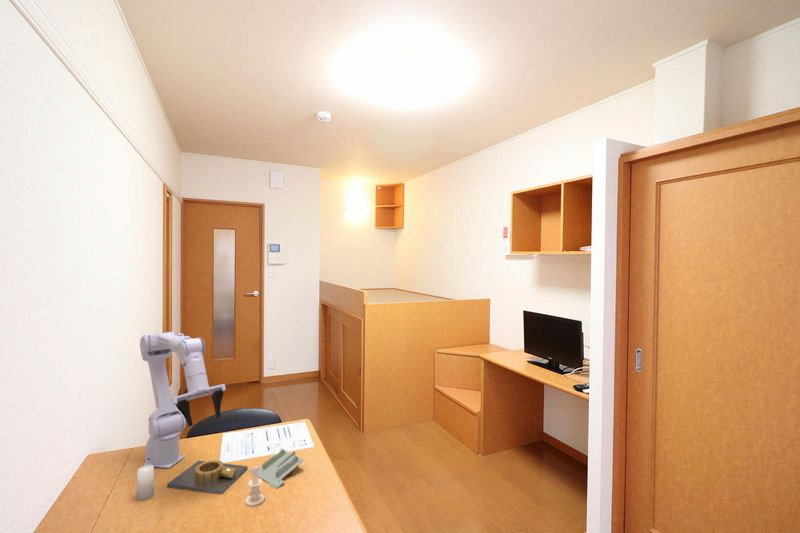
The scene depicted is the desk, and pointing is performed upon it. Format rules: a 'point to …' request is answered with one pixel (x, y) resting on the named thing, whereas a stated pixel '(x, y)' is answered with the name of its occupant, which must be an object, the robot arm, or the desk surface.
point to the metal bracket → (278, 468)
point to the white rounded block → (145, 482)
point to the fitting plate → (205, 486)
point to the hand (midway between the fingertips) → (204, 421)
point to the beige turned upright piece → (254, 490)
